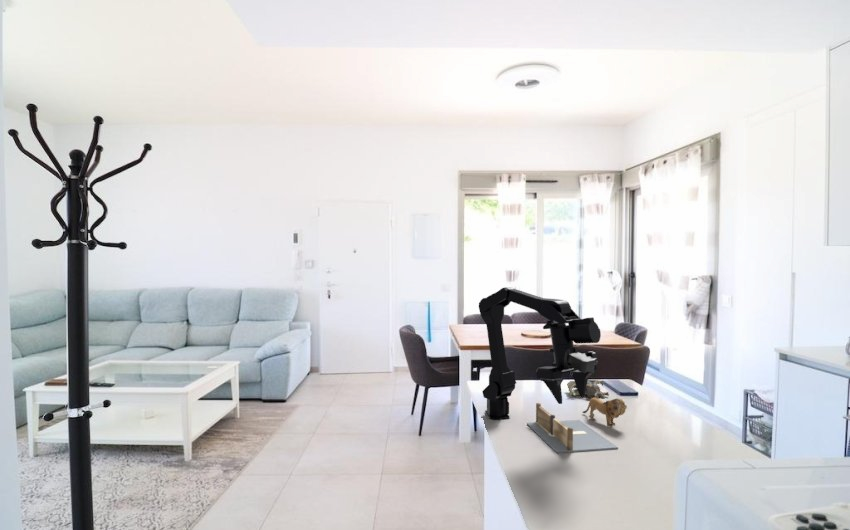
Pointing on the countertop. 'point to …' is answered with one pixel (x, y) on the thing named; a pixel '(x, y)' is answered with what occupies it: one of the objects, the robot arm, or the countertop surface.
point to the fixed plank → (544, 418)
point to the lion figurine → (607, 409)
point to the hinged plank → (563, 433)
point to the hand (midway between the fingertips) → (571, 400)
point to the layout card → (574, 438)
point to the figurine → (588, 389)
